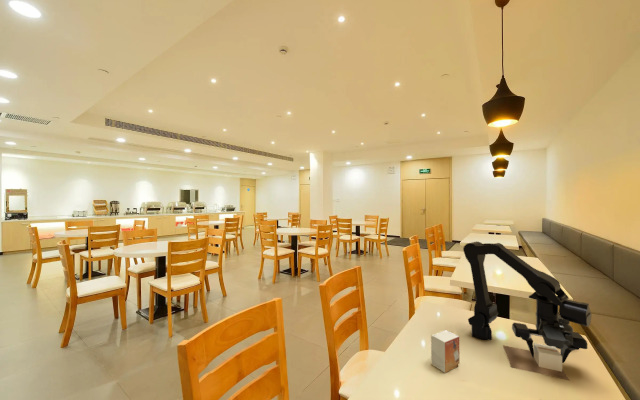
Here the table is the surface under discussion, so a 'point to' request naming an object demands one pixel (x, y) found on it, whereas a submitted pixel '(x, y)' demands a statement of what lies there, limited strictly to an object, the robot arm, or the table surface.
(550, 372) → the base plate
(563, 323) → the supplement bottle
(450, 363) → the small box
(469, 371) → the table surface
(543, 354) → the white carton
